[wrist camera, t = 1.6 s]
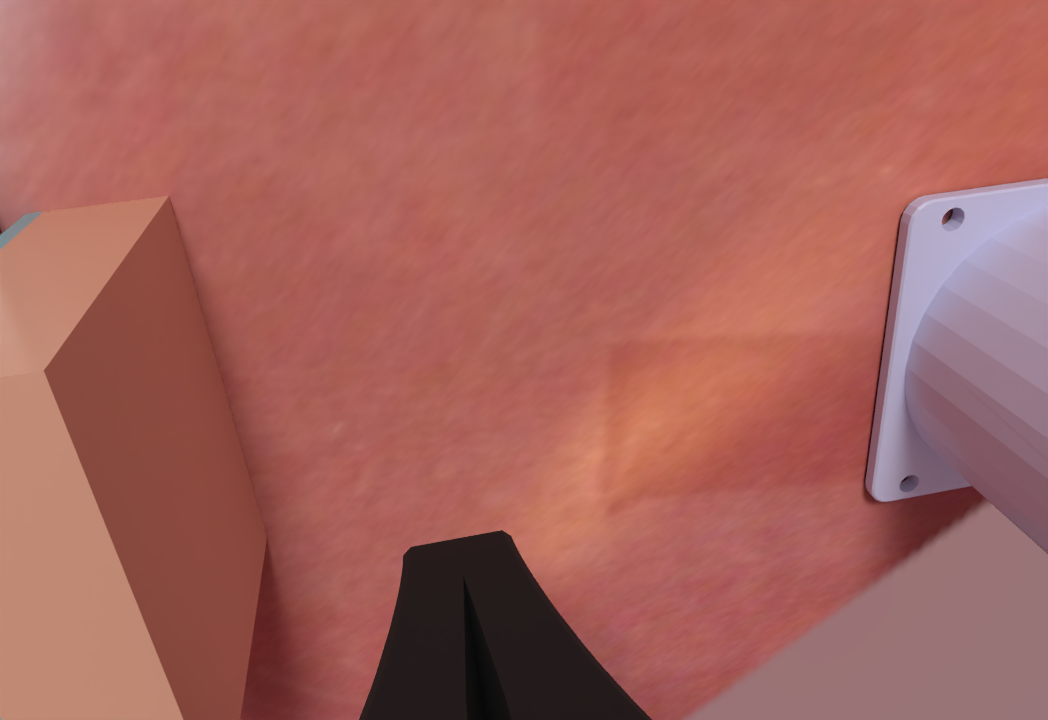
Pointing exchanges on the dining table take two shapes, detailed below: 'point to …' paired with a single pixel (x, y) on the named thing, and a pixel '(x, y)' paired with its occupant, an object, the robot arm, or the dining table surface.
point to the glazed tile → (118, 479)
